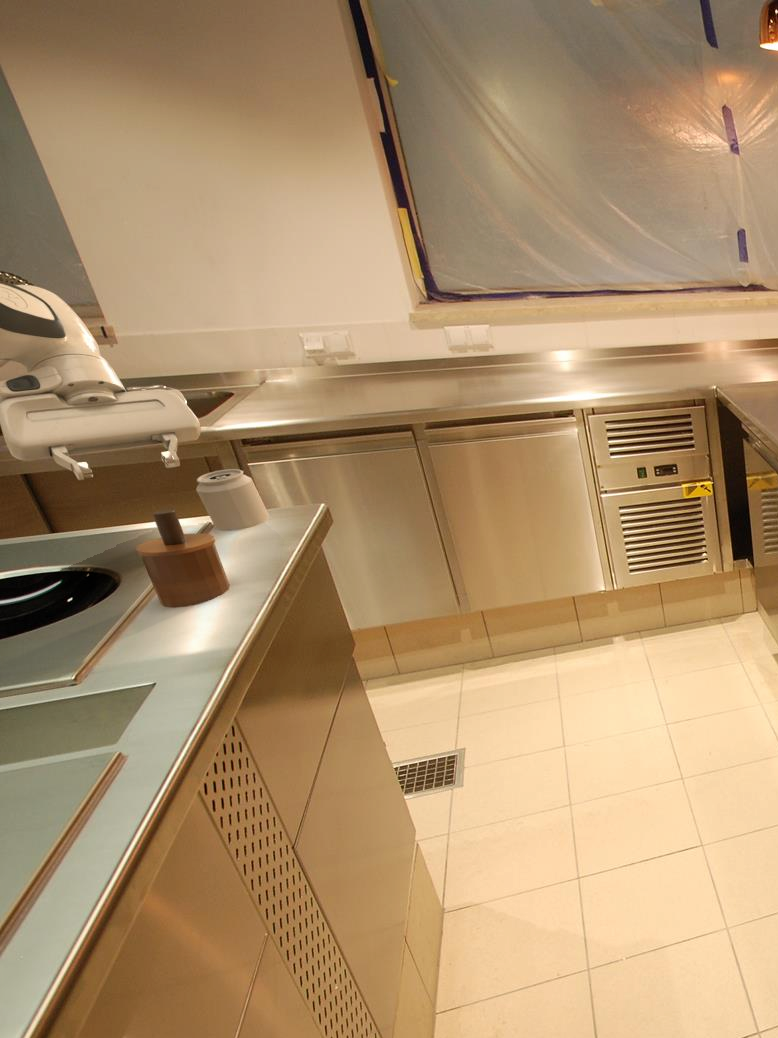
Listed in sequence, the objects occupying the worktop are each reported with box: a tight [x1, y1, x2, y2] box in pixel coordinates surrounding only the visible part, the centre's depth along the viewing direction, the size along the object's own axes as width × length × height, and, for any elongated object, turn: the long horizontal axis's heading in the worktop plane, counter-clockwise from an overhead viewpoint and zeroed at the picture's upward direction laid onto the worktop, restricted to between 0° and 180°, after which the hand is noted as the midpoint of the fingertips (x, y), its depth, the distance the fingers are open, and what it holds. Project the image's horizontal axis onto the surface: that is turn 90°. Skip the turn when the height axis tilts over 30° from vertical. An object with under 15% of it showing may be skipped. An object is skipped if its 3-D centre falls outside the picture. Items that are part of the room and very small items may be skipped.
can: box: [195, 468, 270, 532], centre depth 142 cm, size 8×8×12 cm
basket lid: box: [135, 508, 216, 557], centre depth 117 cm, size 8×8×6 cm
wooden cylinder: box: [140, 543, 231, 609], centre depth 119 cm, size 8×8×8 cm
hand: (131, 470), depth 118 cm, fingers open, 8 cm apart
